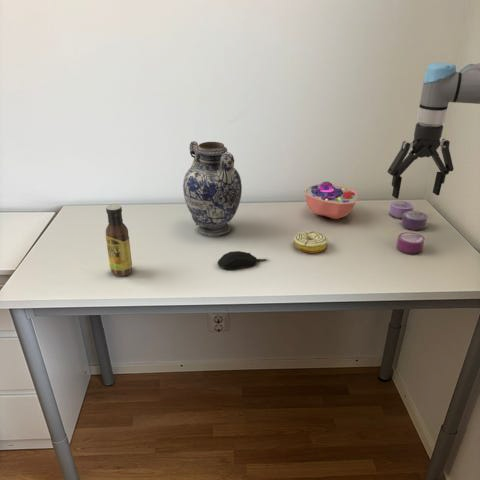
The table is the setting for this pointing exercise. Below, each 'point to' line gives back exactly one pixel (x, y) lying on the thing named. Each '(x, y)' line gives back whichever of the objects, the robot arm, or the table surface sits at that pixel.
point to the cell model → (330, 200)
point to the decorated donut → (310, 242)
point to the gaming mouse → (237, 260)
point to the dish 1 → (400, 208)
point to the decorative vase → (212, 188)
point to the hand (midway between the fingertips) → (415, 195)
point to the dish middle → (414, 220)
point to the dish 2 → (410, 242)
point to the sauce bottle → (118, 242)
